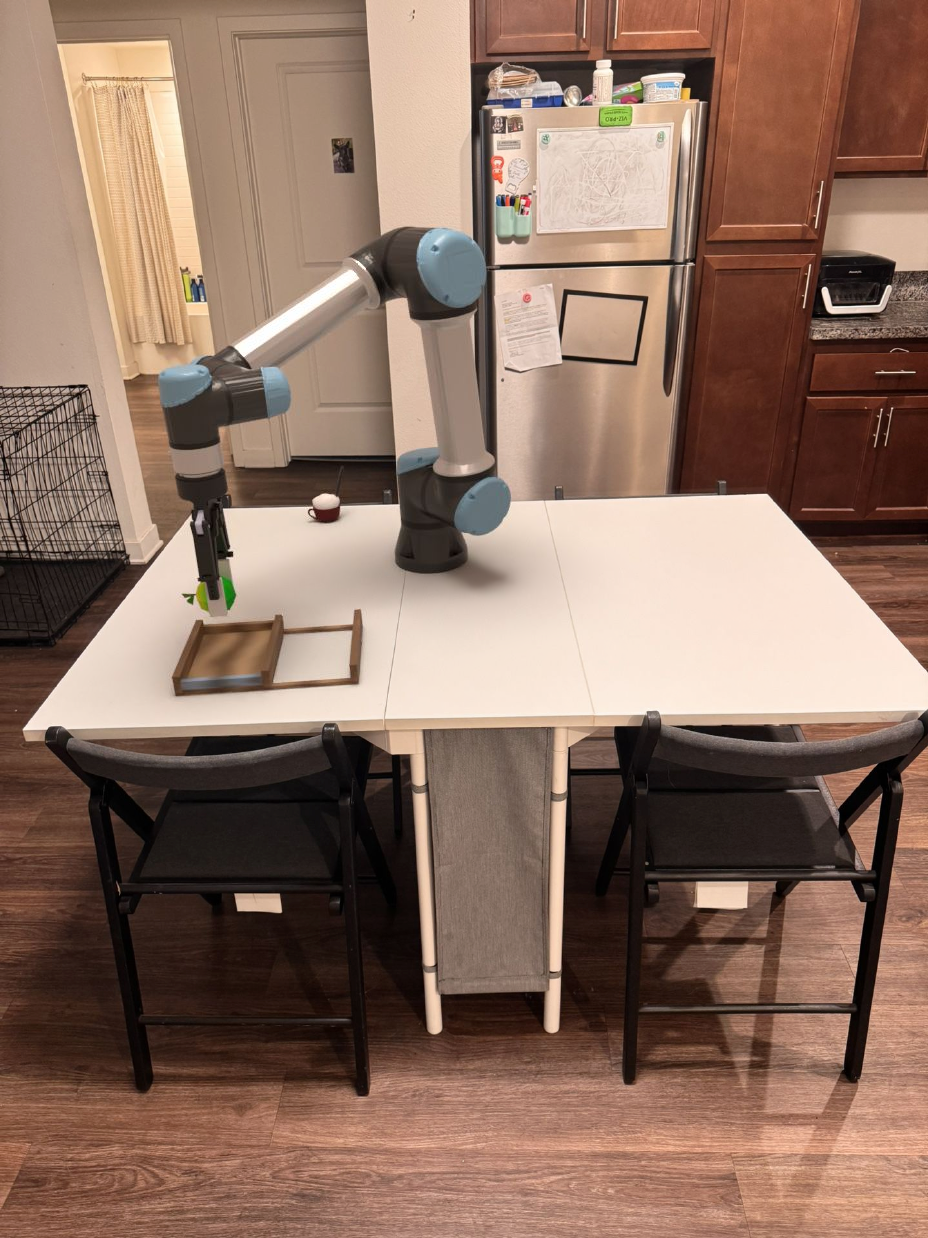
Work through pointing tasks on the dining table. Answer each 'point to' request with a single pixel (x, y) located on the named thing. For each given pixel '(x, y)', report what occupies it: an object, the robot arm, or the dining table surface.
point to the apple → (202, 598)
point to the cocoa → (327, 504)
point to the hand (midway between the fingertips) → (222, 605)
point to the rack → (249, 657)
